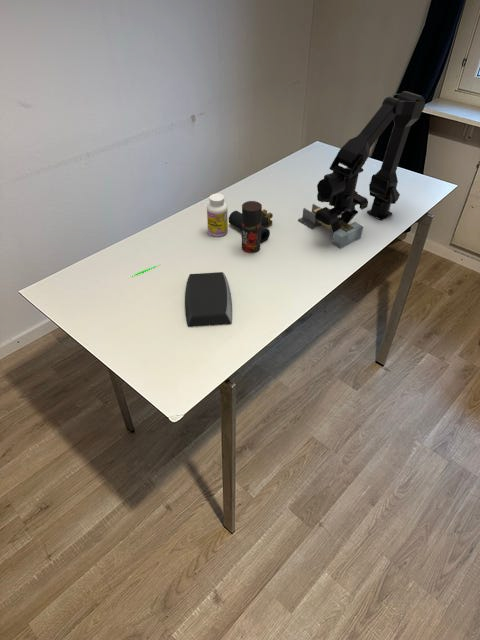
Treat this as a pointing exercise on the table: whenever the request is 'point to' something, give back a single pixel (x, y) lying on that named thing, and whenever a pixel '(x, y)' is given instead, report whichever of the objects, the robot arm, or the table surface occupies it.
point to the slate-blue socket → (347, 235)
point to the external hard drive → (208, 300)
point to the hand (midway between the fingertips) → (337, 231)
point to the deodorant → (251, 226)
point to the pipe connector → (236, 221)
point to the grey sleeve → (310, 218)
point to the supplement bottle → (217, 215)
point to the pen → (144, 270)
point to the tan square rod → (343, 225)
